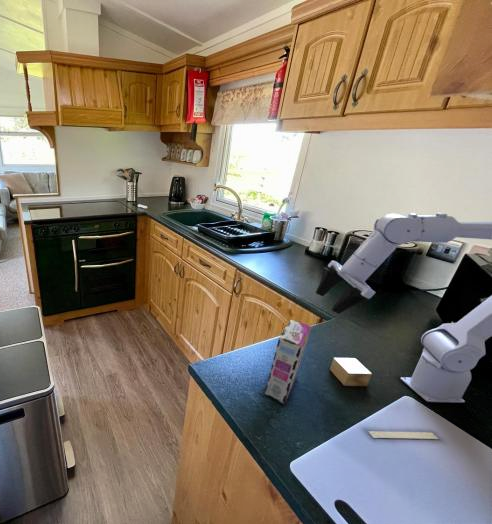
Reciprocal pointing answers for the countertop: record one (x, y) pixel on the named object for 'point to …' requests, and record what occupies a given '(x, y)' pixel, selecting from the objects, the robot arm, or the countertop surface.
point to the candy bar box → (287, 360)
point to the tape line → (403, 435)
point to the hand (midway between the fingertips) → (326, 302)
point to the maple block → (350, 372)
